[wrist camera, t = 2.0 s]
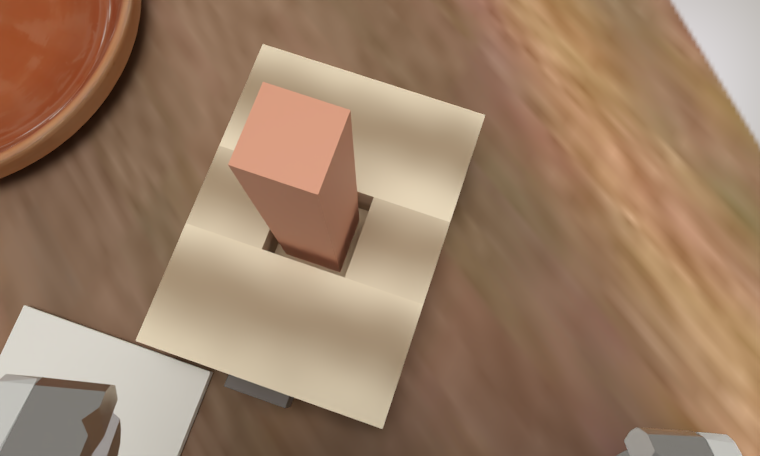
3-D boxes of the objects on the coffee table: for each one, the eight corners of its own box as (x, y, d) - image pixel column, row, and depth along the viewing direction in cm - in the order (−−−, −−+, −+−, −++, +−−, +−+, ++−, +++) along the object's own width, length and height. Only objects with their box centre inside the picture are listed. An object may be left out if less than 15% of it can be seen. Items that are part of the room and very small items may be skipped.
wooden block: (340, 272, 34) (317, 195, 20) (286, 254, 34) (228, 164, 20) (359, 219, 34) (350, 110, 21) (306, 201, 34) (263, 81, 21)
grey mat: (130, 582, 33) (125, 586, 32) (-66, 507, 33) (-74, 509, 33) (213, 372, 35) (210, 372, 35) (29, 306, 36) (24, 305, 35)
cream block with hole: (377, 433, 35) (378, 442, 29) (170, 358, 35) (130, 353, 30) (468, 156, 38) (485, 115, 33) (279, 94, 39) (262, 44, 33)
